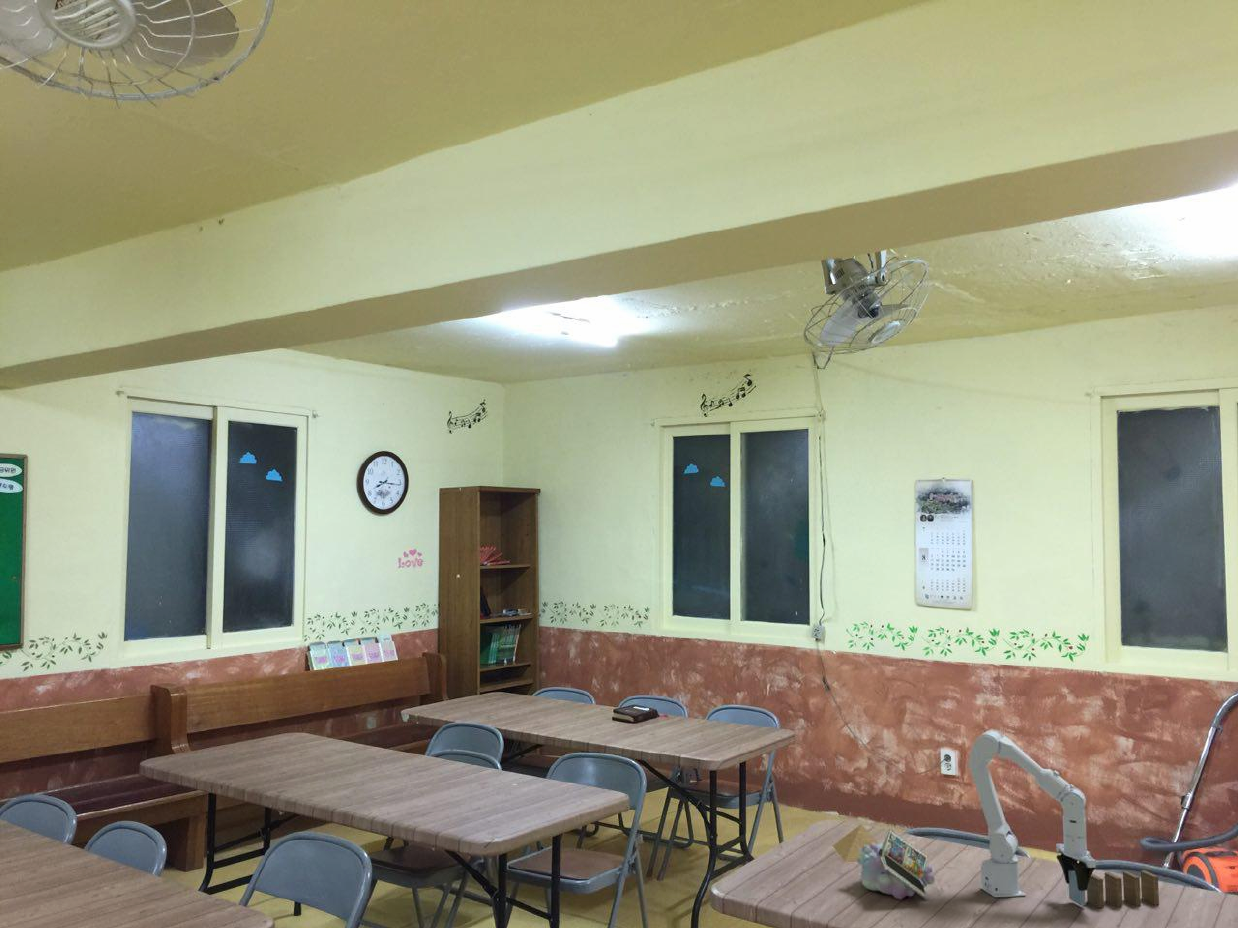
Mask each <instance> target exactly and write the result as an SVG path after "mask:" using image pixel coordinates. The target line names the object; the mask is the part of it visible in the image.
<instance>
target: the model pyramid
mask: <svg viewBox="0 0 1238 928" xmlns="http://www.w3.org/2000/svg"><path fill="white" fill-rule="evenodd" d="M872 842H874V843H875V844H877V845H878V844H879V842H877V840H876V839H875V838H874V836H873V835H872V834H871V833H870V832H869V831H868V830H867V829H866V827H865V826H864V825H863V824H859V825H858V826H857V827H855V828H854V829H853V830H852V831H850V832H849V833H848V834H846V835H845V836H843V837H842V838H841V839H839V840H838V841H837V842H835V843H834V844H832V846H833V847H834V848H835V849H836V851H837V852H838V854H839V855H841V857H842V859H843V860H844V862H857V858H861V857H862V856H860V855H859V849H861V848H863V845H868V846H869V847H870V846H871V844H872Z"/></svg>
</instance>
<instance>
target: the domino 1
mask: <svg viewBox="0 0 1238 928" xmlns="http://www.w3.org/2000/svg"><path fill="white" fill-rule="evenodd" d="M1068 876H1069V884H1068V898H1069V900H1071V901H1072V902H1074V903H1076V904H1078V905H1080V906H1086V890H1085V891H1080V890H1078V886H1077V878H1076V873H1075V871H1074V870H1068Z"/></svg>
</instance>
